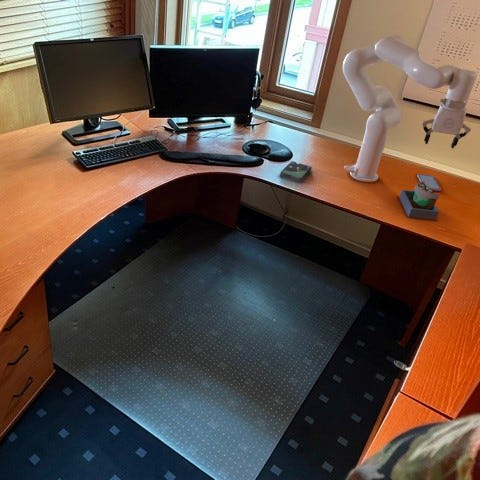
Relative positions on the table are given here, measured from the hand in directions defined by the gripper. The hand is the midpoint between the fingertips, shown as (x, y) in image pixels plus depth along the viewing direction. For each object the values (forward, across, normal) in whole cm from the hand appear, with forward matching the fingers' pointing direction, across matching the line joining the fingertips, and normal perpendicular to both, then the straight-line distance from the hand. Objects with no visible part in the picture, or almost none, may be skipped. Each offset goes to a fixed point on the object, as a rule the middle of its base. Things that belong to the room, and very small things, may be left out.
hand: (439, 145), depth 192 cm
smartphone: (+25, +4, +18) cm, 32 cm away
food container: (+26, -1, -9) cm, 27 cm away
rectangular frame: (+25, -1, -9) cm, 27 cm away
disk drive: (+24, -54, -1) cm, 59 cm away
